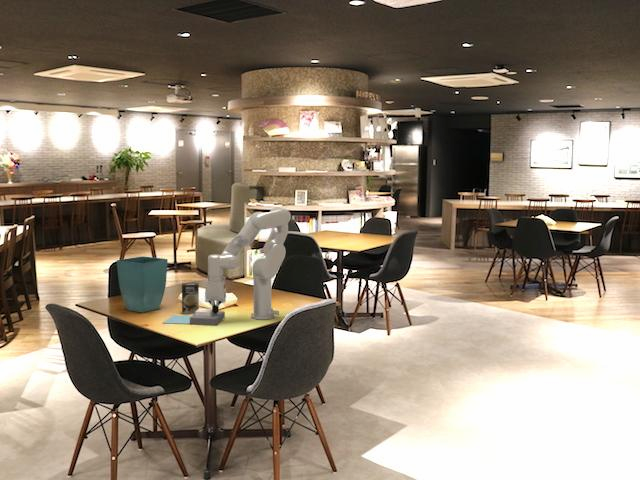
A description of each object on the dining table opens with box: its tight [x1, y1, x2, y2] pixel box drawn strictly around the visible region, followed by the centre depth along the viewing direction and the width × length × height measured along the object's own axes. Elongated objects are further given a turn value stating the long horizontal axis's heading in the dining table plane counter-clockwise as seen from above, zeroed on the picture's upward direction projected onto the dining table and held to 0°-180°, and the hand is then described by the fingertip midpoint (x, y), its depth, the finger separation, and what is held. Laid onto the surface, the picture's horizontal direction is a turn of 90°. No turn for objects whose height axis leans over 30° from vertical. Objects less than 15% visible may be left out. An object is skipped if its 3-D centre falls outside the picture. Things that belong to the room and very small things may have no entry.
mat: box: [162, 314, 192, 325], centre depth 331 cm, size 14×16×1 cm
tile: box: [195, 308, 213, 316], centre depth 329 cm, size 8×7×2 cm
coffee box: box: [181, 282, 200, 315], centre depth 346 cm, size 9×6×16 cm
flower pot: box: [116, 255, 169, 313], centre depth 351 cm, size 20×20×28 cm
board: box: [189, 310, 226, 326], centre depth 329 cm, size 14×16×4 cm
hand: (215, 313), depth 328 cm, fingers closed
